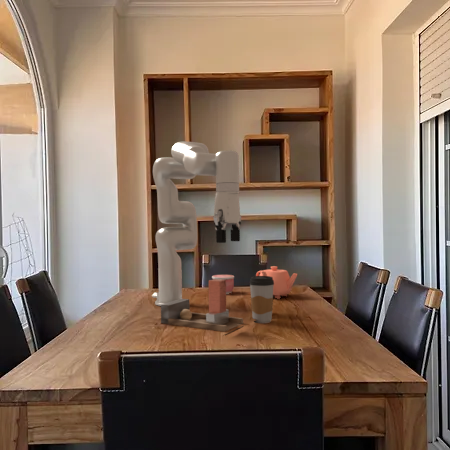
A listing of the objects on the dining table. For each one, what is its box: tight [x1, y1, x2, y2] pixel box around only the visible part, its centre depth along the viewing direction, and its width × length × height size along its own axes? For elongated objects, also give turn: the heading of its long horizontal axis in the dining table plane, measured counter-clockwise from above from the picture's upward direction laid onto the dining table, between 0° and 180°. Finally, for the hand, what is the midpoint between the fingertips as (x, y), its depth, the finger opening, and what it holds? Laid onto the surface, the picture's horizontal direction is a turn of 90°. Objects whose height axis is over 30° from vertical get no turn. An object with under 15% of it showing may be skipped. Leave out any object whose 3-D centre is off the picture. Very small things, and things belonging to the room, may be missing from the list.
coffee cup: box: [249, 275, 274, 324], centre depth 153 cm, size 8×8×15 cm
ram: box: [205, 279, 230, 325], centre depth 143 cm, size 4×9×14 cm, turn 150°
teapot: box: [255, 265, 298, 300], centre depth 200 cm, size 16×17×14 cm
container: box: [211, 274, 235, 295], centre depth 212 cm, size 10×10×8 cm
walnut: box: [180, 308, 192, 321], centre depth 149 cm, size 4×4×4 cm
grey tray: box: [160, 298, 244, 336], centre depth 146 cm, size 24×12×7 cm, turn 60°
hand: (228, 241), depth 147 cm, fingers open, 9 cm apart
